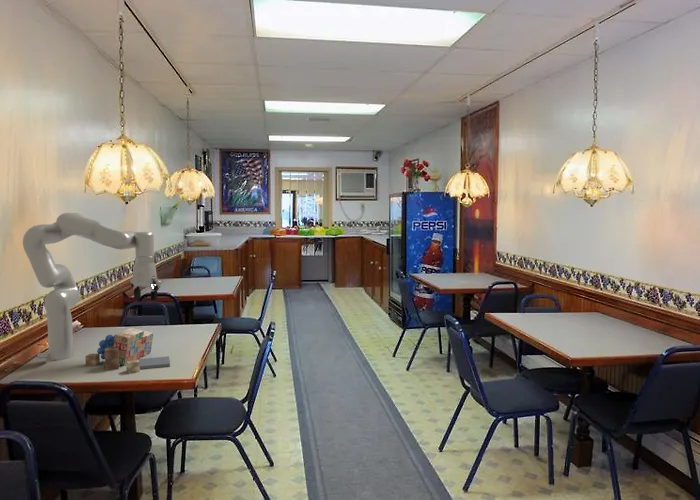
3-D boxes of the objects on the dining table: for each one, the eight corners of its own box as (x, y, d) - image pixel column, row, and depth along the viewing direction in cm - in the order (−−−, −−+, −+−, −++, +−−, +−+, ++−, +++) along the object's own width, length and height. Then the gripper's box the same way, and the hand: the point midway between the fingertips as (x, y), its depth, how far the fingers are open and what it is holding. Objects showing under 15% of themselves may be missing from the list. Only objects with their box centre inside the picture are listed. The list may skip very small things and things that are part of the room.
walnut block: (105, 370, 217) (104, 350, 216) (106, 367, 221) (105, 347, 221) (118, 369, 218) (118, 349, 218) (119, 365, 223) (118, 346, 223)
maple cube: (129, 373, 212) (128, 363, 212) (126, 371, 216) (126, 361, 215) (139, 371, 215) (139, 362, 214) (137, 369, 218) (136, 359, 218)
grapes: (126, 358, 236) (130, 331, 235) (125, 363, 230) (129, 336, 228) (96, 355, 232) (101, 328, 231) (95, 361, 226) (99, 333, 224)
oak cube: (85, 365, 224) (85, 356, 223) (90, 362, 228) (89, 353, 227) (95, 365, 224) (95, 356, 223) (99, 362, 228) (99, 353, 227)
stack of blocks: (138, 349, 245) (142, 323, 244) (150, 352, 244) (155, 326, 243) (110, 362, 224) (114, 333, 222) (124, 365, 223) (128, 337, 222)
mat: (138, 369, 218) (138, 366, 218) (139, 361, 229) (139, 358, 229) (170, 366, 222) (169, 363, 222) (169, 359, 233) (169, 356, 233)
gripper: (123, 260, 236) (124, 299, 237) (153, 261, 228) (154, 302, 230) (136, 258, 242) (137, 296, 244) (166, 260, 235) (167, 299, 236)
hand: (145, 299), depth 237 cm, fingers open, 9 cm apart
